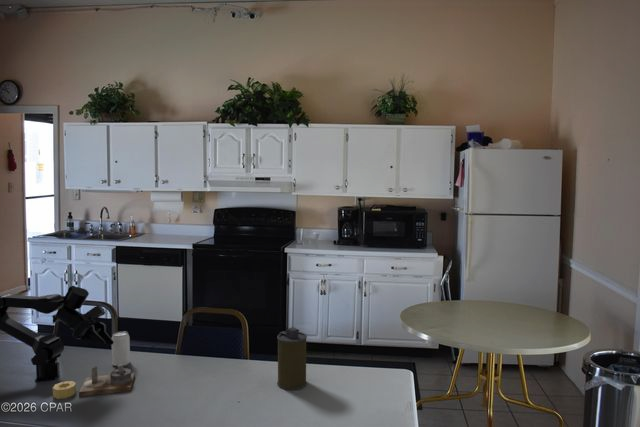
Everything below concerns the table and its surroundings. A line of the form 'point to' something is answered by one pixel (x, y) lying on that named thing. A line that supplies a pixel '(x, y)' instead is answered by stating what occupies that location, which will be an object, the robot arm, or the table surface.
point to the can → (120, 348)
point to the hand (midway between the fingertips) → (109, 343)
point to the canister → (291, 359)
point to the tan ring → (64, 389)
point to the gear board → (108, 382)
